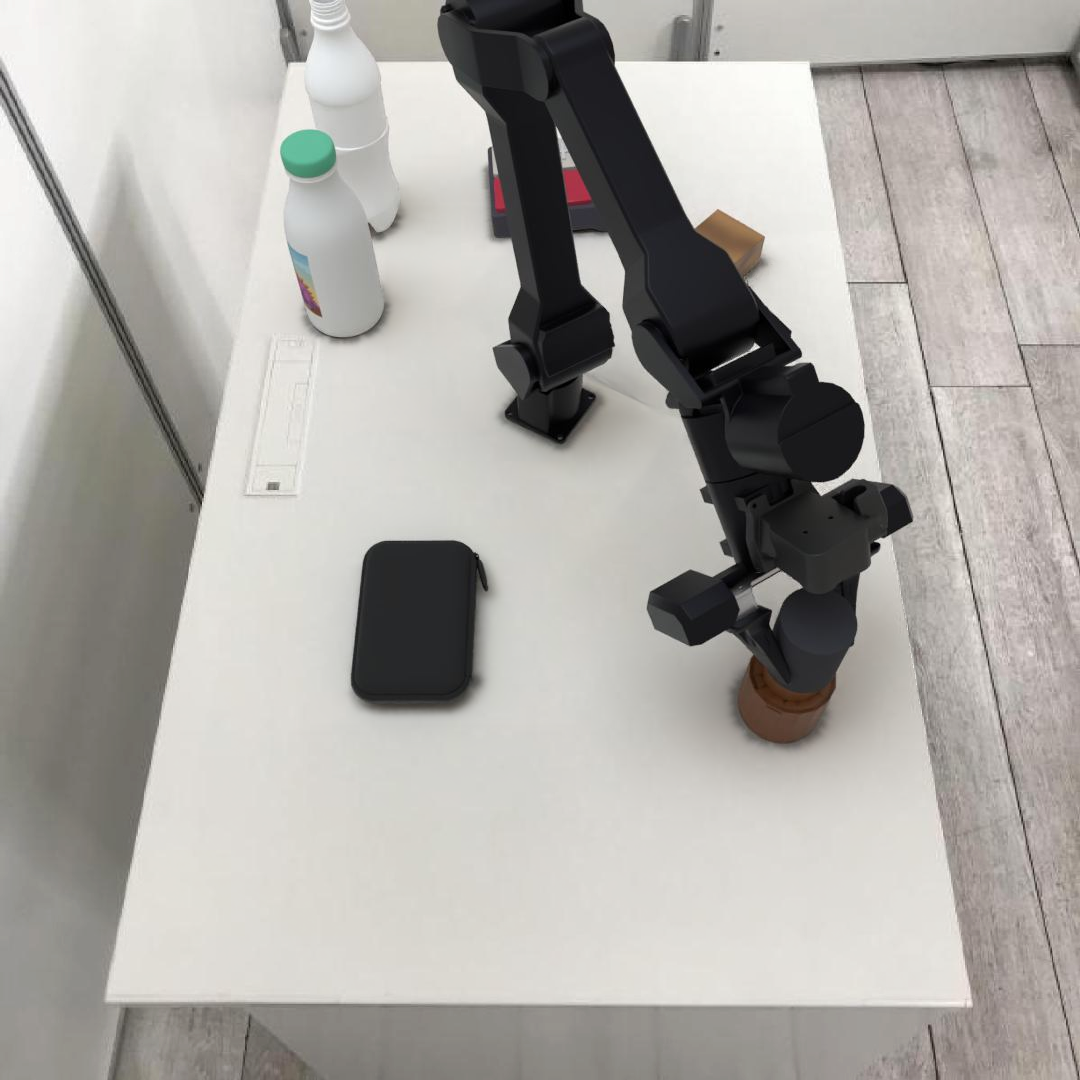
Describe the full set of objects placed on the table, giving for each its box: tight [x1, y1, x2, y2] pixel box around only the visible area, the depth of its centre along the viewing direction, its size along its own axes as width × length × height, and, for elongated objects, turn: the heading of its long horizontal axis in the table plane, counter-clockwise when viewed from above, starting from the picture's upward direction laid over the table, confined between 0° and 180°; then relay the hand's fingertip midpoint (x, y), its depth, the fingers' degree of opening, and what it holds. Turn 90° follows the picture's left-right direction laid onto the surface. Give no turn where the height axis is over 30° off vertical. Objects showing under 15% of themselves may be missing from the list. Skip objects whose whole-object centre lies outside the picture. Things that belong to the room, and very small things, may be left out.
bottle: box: [737, 653, 837, 744], centre depth 81 cm, size 6×6×8 cm
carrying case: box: [350, 539, 489, 704], centre depth 87 cm, size 11×3×15 cm
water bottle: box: [303, 0, 401, 233], centre depth 103 cm, size 7×7×25 cm
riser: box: [694, 208, 766, 278], centre depth 108 cm, size 6×6×4 cm
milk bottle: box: [279, 128, 385, 338], centre depth 99 cm, size 8×8×20 cm
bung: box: [767, 587, 859, 693], centre depth 75 cm, size 5×5×8 cm
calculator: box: [487, 137, 607, 238], centre depth 113 cm, size 11×4×15 cm
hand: (817, 664), depth 75 cm, fingers closed on bung, 5 cm apart
